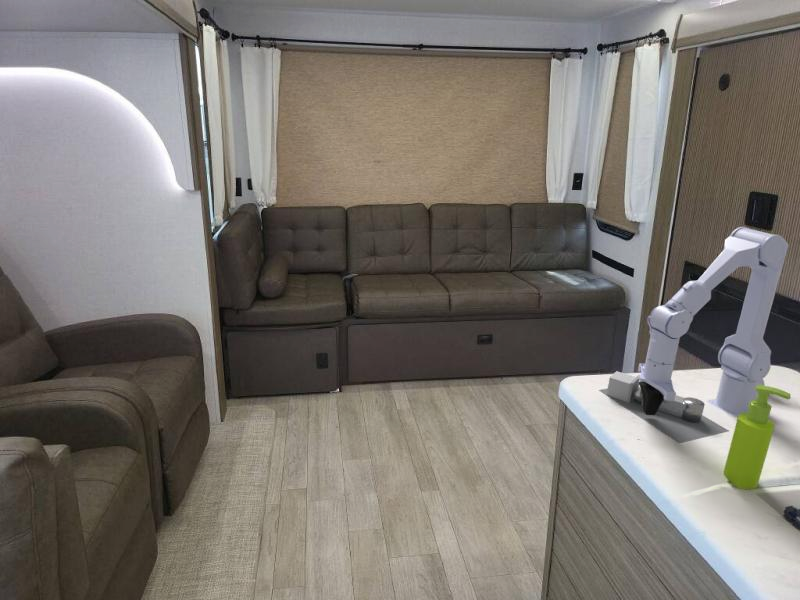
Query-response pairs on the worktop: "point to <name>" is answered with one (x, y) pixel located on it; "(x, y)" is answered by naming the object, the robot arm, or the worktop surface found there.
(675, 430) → the duct board
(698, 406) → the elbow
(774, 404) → the worktop surface
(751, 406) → the soap dispenser
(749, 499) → the worktop surface
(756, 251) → the robot arm
